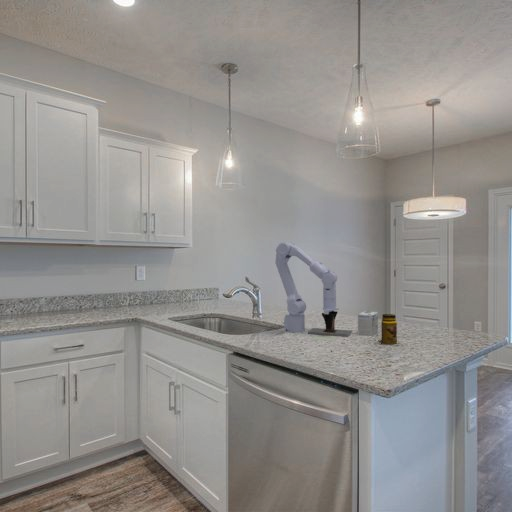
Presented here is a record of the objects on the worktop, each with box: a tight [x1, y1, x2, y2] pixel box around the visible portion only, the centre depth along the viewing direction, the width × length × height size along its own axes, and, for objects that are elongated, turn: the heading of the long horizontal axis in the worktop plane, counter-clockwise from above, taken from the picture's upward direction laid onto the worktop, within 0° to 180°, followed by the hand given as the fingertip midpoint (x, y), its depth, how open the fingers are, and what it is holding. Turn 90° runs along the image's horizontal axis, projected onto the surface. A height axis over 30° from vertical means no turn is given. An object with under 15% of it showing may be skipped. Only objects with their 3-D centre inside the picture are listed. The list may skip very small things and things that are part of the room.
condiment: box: [375, 313, 400, 346], centre depth 157 cm, size 7×8×12 cm
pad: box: [310, 335, 338, 342], centre depth 160 cm, size 10×7×2 cm
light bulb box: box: [357, 311, 379, 337], centre depth 171 cm, size 11×7×11 cm, turn 149°
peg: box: [325, 317, 336, 331], centre depth 171 cm, size 4×4×6 cm
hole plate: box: [307, 327, 353, 338], centre depth 171 cm, size 18×10×3 cm, turn 66°
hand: (329, 328), depth 171 cm, fingers closed on peg, 4 cm apart
